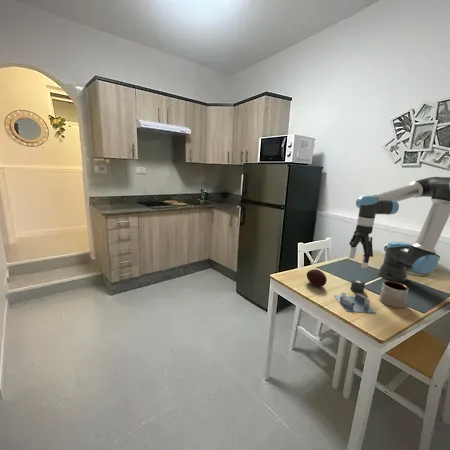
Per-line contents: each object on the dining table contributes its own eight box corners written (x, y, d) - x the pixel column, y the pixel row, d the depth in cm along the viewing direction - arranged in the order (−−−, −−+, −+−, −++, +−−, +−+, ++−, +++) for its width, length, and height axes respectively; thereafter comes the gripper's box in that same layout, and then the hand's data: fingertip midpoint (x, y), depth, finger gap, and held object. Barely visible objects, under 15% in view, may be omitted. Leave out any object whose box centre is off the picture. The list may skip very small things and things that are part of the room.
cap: (359, 287, 135) (361, 279, 134) (365, 293, 129) (367, 285, 128) (348, 287, 135) (349, 278, 134) (353, 292, 129) (355, 284, 128)
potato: (319, 291, 128) (321, 275, 126) (301, 282, 138) (303, 267, 136) (329, 288, 133) (331, 272, 131) (311, 279, 143) (313, 264, 140)
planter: (395, 310, 114) (400, 292, 112) (374, 298, 124) (378, 282, 122) (409, 306, 118) (414, 288, 116) (387, 295, 128) (391, 279, 126)
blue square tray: (360, 297, 124) (361, 291, 123) (376, 313, 111) (377, 307, 110) (333, 295, 125) (334, 290, 124) (346, 311, 111) (347, 304, 110)
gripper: (347, 219, 137) (341, 254, 142) (370, 230, 113) (362, 271, 118) (360, 220, 137) (353, 255, 141) (386, 231, 112) (377, 272, 117)
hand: (357, 262), depth 130 cm, fingers open, 13 cm apart
